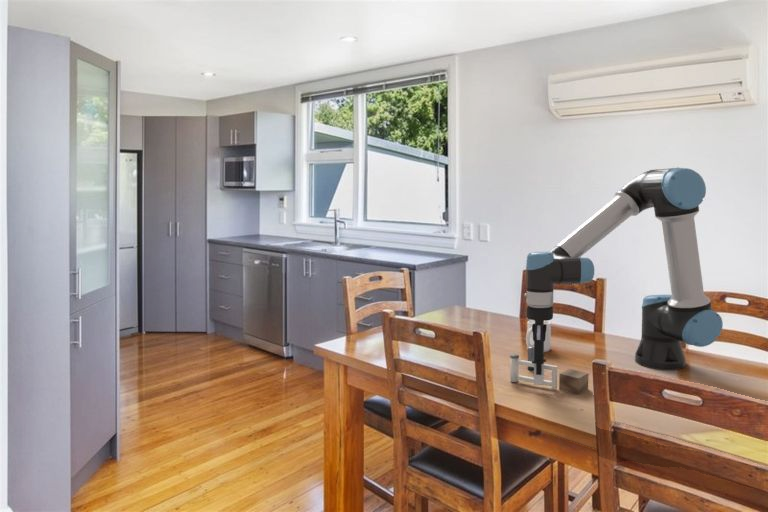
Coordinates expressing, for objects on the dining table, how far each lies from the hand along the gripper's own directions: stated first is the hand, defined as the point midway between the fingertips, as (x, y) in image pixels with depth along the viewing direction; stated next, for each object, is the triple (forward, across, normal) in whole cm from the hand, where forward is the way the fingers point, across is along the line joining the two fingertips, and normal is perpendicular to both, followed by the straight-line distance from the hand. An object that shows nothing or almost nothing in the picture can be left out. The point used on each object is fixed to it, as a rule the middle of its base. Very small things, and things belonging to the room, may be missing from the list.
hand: (538, 384), depth 160 cm
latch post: (+2, -19, -3) cm, 19 cm away
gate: (+2, -4, -2) cm, 5 cm away
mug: (+1, -41, -3) cm, 41 cm away
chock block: (+2, -4, +10) cm, 11 cm away
